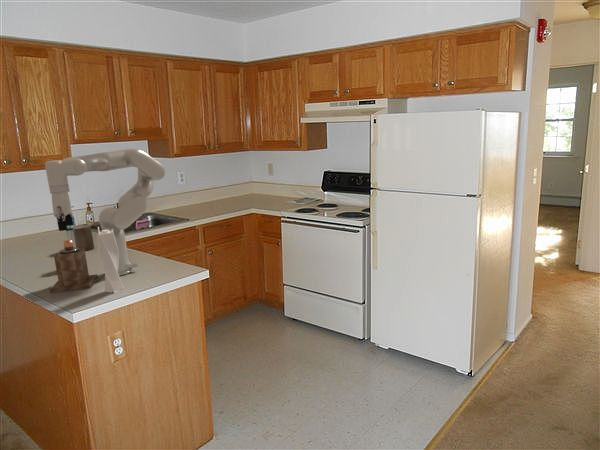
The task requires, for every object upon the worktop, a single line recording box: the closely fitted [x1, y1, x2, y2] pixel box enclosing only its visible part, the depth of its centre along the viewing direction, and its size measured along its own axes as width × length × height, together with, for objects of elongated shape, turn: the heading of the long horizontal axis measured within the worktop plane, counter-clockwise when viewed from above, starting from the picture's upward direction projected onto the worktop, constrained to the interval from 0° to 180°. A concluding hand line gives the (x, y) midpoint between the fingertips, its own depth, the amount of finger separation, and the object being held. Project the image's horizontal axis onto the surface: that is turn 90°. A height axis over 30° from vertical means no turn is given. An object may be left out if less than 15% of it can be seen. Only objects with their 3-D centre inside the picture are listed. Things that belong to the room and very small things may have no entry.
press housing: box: [49, 248, 99, 293], centre depth 204 cm, size 16×15×16 cm
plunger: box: [60, 239, 78, 253], centre depth 204 cm, size 7×7×18 cm
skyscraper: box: [97, 226, 125, 294], centre depth 193 cm, size 8×8×28 cm
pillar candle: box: [72, 224, 95, 252], centre depth 267 cm, size 10×10×15 cm
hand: (66, 227), depth 201 cm, fingers open, 9 cm apart
